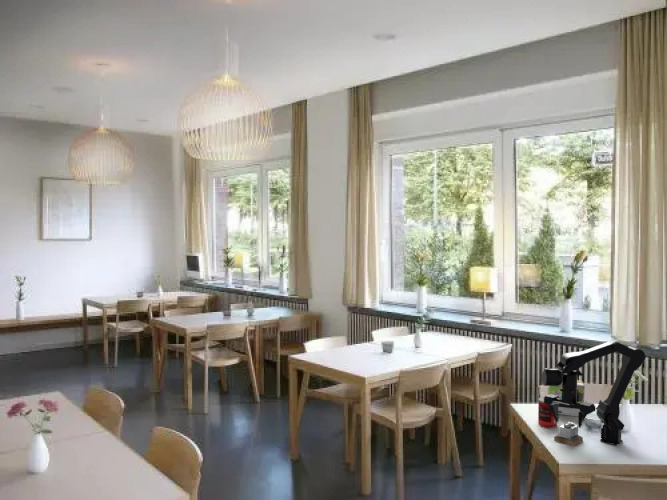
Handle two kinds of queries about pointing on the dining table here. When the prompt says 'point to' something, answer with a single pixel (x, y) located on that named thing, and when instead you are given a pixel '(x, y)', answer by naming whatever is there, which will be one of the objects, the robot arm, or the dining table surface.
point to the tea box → (565, 408)
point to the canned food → (545, 415)
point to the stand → (572, 442)
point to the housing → (568, 430)
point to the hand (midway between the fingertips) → (568, 424)
